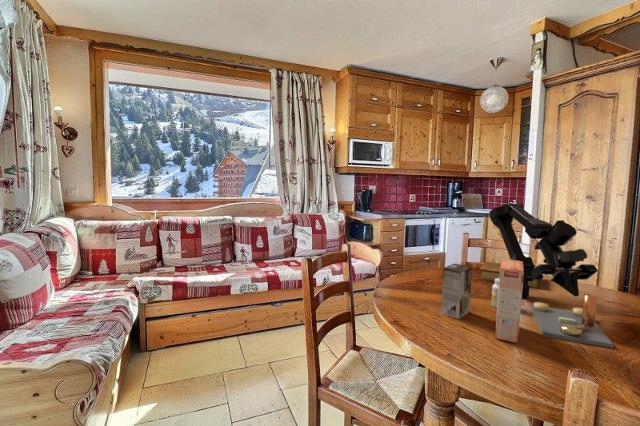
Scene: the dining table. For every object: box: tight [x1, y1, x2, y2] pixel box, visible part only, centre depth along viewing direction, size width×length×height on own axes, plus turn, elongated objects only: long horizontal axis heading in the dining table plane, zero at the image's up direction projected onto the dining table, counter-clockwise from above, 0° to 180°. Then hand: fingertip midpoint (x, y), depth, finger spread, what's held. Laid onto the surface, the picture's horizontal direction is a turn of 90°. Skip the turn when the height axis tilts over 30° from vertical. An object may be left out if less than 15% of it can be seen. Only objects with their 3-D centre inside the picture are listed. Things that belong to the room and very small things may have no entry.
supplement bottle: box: [491, 278, 499, 308], centre depth 120 cm, size 5×5×10 cm
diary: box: [479, 261, 540, 290], centre depth 154 cm, size 23×19×6 cm
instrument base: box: [530, 301, 614, 349], centre depth 103 cm, size 16×24×3 cm, turn 154°
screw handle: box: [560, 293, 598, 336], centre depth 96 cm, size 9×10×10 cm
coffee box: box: [441, 263, 473, 320], centre depth 112 cm, size 9×6×16 cm
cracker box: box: [494, 258, 523, 344], centre depth 97 cm, size 14×6×21 cm, turn 148°
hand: (576, 295), depth 102 cm, fingers closed
